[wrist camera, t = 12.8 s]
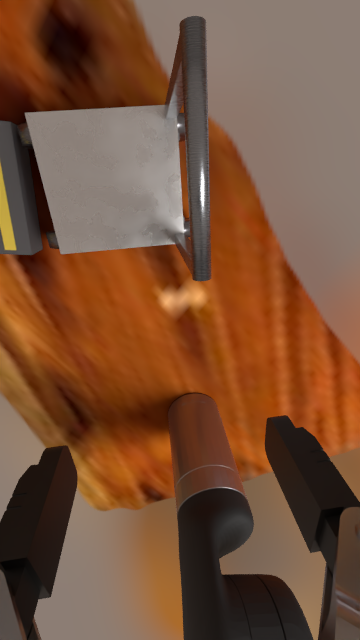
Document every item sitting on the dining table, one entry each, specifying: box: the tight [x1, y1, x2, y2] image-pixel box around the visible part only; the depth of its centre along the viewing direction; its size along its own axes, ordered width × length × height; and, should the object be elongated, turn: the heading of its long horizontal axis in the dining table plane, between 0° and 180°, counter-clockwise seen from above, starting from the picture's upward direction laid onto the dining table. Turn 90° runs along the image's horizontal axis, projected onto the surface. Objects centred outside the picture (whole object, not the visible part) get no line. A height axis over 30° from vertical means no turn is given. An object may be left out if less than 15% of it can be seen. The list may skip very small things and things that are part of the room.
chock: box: [0, 121, 43, 255], centre depth 31 cm, size 13×4×4 cm, turn 176°
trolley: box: [17, 16, 211, 281], centre depth 24 cm, size 18×12×22 cm, turn 94°
